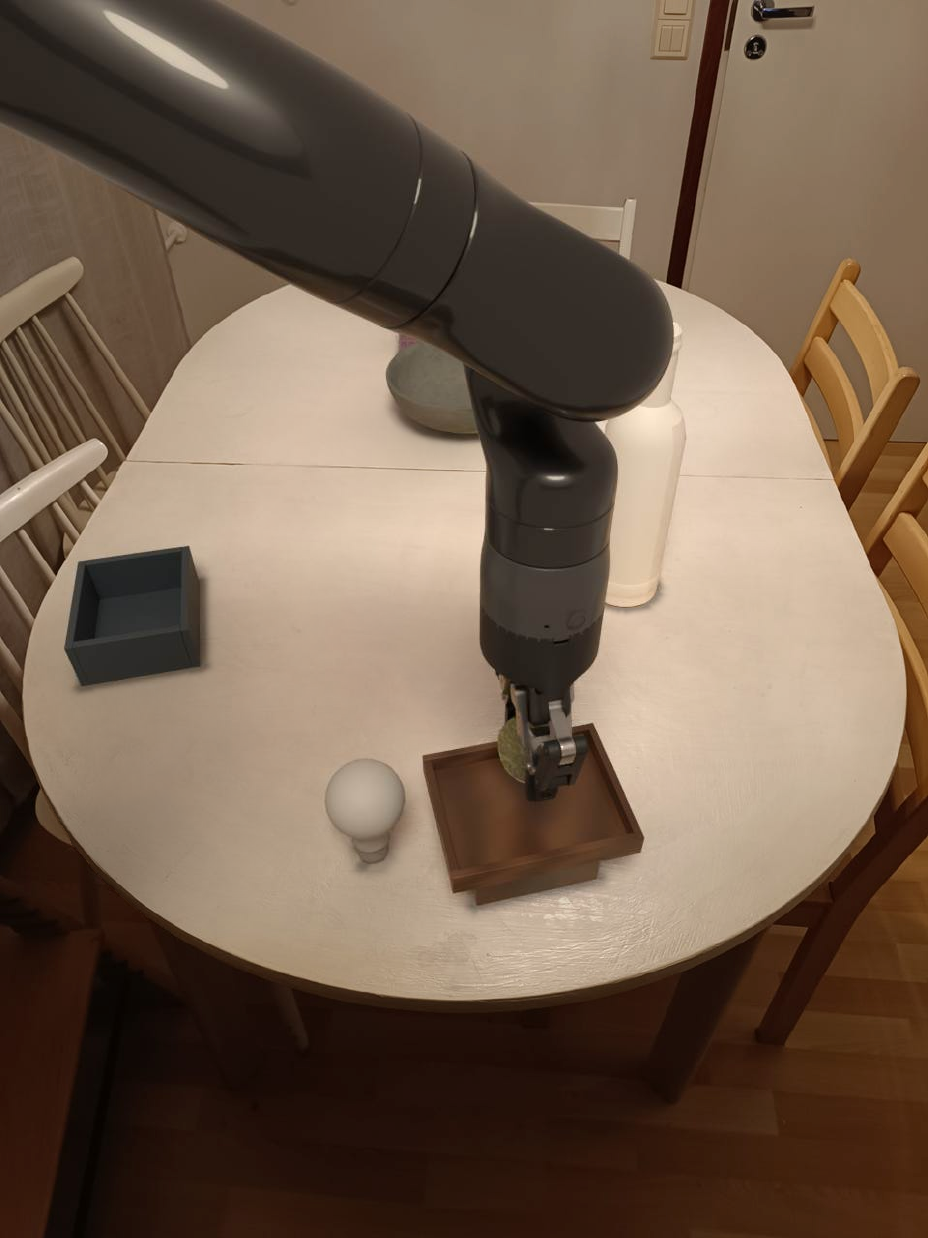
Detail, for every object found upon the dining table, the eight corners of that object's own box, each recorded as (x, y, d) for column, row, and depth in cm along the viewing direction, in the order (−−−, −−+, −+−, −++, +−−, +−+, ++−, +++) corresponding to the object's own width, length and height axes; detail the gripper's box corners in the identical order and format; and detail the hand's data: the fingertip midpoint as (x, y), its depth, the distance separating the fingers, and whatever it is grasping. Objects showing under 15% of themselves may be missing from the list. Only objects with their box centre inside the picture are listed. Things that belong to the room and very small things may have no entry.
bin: (81, 686, 84) (63, 648, 80) (93, 598, 94) (77, 561, 90) (200, 666, 86) (188, 629, 82) (200, 582, 95) (189, 545, 92)
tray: (454, 933, 65) (452, 879, 59) (426, 813, 73) (422, 755, 67) (630, 893, 67) (644, 837, 61) (584, 781, 75) (593, 722, 69)
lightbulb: (322, 871, 69) (304, 791, 61) (360, 813, 73) (347, 731, 65) (388, 899, 67) (377, 821, 59) (423, 838, 71) (417, 758, 63)
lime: (557, 797, 60) (562, 754, 57) (490, 786, 61) (491, 743, 58) (564, 749, 63) (569, 705, 60) (501, 739, 64) (502, 695, 61)
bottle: (617, 553, 98) (654, 300, 78) (671, 585, 94) (726, 326, 74) (571, 584, 95) (598, 325, 74) (625, 619, 90) (670, 355, 70)
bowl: (554, 398, 126) (558, 347, 120) (508, 470, 112) (510, 416, 106) (424, 374, 131) (422, 325, 126) (364, 441, 117) (359, 388, 112)
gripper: (454, 529, 55) (458, 702, 66) (514, 688, 44) (505, 860, 56) (565, 512, 56) (549, 686, 67) (647, 664, 46) (612, 838, 57)
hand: (529, 764), depth 62 cm, fingers closed on lime, 5 cm apart
